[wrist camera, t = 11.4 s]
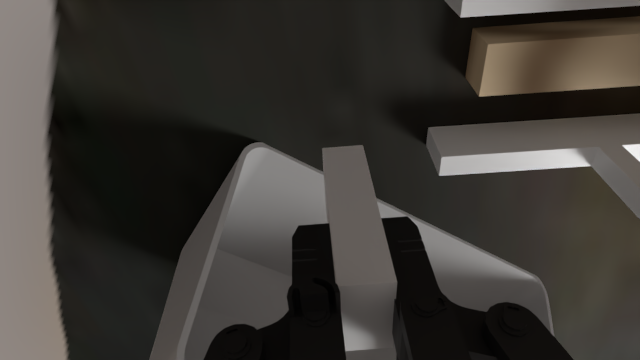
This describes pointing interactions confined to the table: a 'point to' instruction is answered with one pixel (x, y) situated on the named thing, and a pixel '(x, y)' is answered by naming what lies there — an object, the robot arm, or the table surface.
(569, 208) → the table surface
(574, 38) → the rod
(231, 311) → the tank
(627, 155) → the white blocky frame
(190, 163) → the table surface
